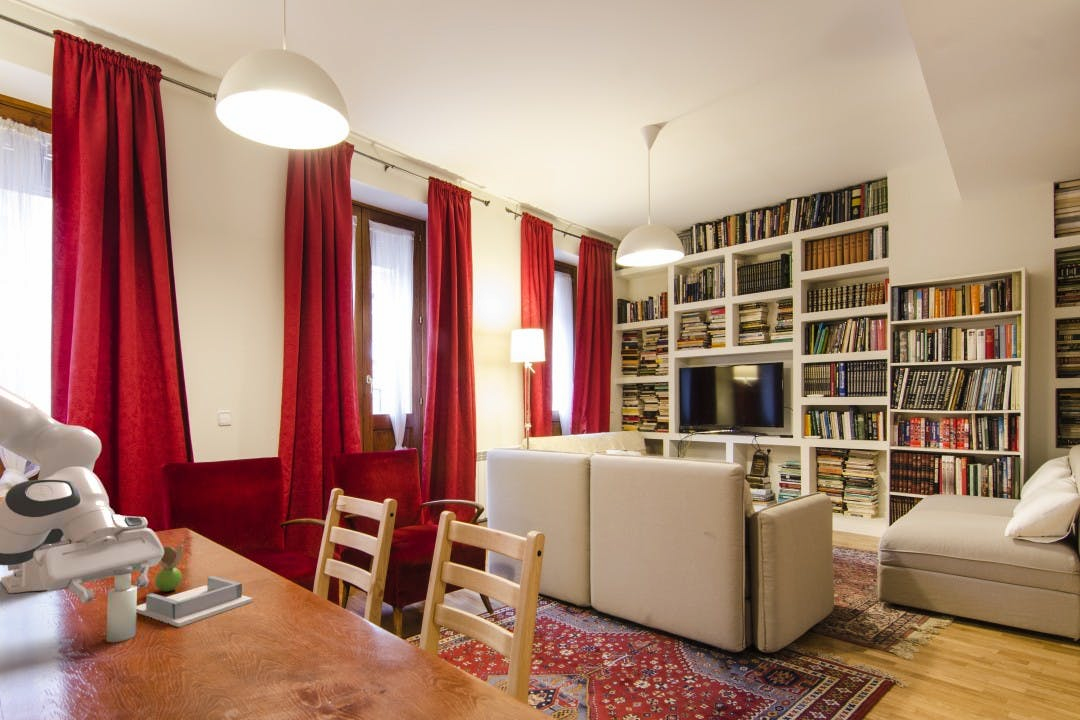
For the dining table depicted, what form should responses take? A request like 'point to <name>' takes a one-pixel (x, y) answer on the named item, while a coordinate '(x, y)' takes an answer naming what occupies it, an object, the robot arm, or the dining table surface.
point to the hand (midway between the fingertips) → (117, 592)
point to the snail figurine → (169, 569)
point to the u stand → (195, 602)
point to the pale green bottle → (121, 607)
